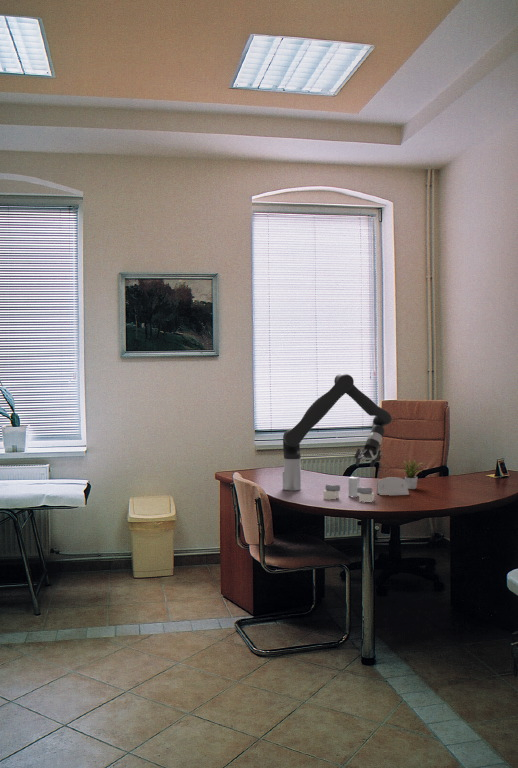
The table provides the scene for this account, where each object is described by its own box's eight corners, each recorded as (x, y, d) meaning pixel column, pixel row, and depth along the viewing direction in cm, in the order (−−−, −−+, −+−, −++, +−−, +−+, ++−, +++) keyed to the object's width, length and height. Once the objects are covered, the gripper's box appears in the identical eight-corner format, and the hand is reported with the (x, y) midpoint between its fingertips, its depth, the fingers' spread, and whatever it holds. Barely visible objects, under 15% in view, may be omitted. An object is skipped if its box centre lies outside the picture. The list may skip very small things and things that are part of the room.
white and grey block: (356, 501, 338) (356, 487, 338) (359, 499, 344) (359, 485, 343) (370, 503, 335) (370, 489, 335) (374, 500, 340) (374, 486, 340)
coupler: (348, 496, 350) (348, 477, 350) (351, 495, 354) (351, 476, 354) (356, 497, 348) (356, 478, 348) (359, 496, 352) (359, 477, 352)
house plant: (425, 491, 363) (425, 461, 362) (399, 490, 365) (399, 460, 365) (424, 486, 377) (424, 457, 376) (399, 485, 379) (399, 457, 379)
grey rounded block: (379, 495, 352) (377, 476, 355) (376, 497, 357) (374, 478, 360) (409, 494, 355) (407, 475, 358) (406, 495, 359) (404, 477, 362)
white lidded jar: (323, 498, 346) (323, 485, 345) (327, 496, 351) (327, 483, 351) (337, 500, 343) (337, 486, 342) (341, 497, 348) (341, 484, 348)
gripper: (359, 437, 371) (349, 460, 362) (383, 438, 362) (373, 462, 354) (363, 445, 375) (354, 468, 366) (387, 447, 367) (378, 471, 358)
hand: (364, 465), depth 360 cm, fingers open, 8 cm apart
